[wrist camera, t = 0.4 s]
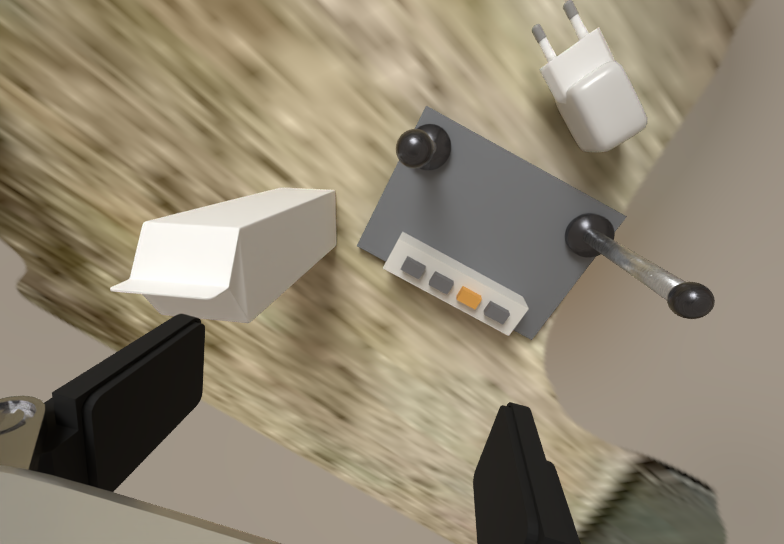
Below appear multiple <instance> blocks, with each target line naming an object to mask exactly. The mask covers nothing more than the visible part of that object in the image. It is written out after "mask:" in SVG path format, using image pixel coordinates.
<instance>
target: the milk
mask: <svg viewBox="0 0 784 544" xmlns="http://www.w3.org/2000/svg"><path fill="white" fill-rule="evenodd" d="M335 246H336V198H335V190H324V189H303V188H277V189H273V190H269V191H265V192H261V193H257V194H253V195H249V196H245V197H241V198H237V199H233V200H229V201H225V202H221V203H217V204H213V205H209V206H205V207H201V208H197V209H193V210H189V211H185V212H182V213H178V214H174V215H170V216H166V217H162V218H158V219H154V220H150V221H146V222H144V223H143V225H142V229H141V233H140V238H139V242H138V246H137V250H136V254H135V259H134V263H133V267H132V271H131V275H130V279H128V280H126V281H124V282H122V283H120V284H117V285H115V286H113V287H111V288H110V289H111V291H115V292H126V293H137V294H142V295H143V296H144V297H145V298H146V299H147V300H148V301H149V302H150V303H151V304H152V305H153V307H154V308H155V309H156V310H157V311H158V312H159V313H160V314H162V315H169V316H176V315H178V314H186V315H189V316H193V317H197V318H200V319H211V320H221V321H232V322H242V323H250V322H251V321H252V320H253V319H255V318H256V317H257V316H258V315H259V314H260V313H261V312H262V311H263V310H265V309H266V308H267V307H268V306H269V305H270V304H271V303H272V302H274V301H275V300H276V299H277V298H278V297H279V296H280V295H281V294H283V293H284V292H285V291H286V290H287V289H288V288H289V287H290V286H291V285H293V284H294V283H295V282H296V281H297V280H298V279H299V278H300V277H302V276H303V275H304V274H305V273H306V272H307V271H308V270H309V269H311V268H312V267H313V266H314V265H315V264H316V263H317V262H318V261H319V260H321V259H322V258H323V257H324V256H325V255H326V254H327V253H328V252H330V251H331V250H332V249H333V248H334V247H335Z"/></svg>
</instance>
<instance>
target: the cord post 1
mask: <svg viewBox="0 0 784 544" xmlns="http://www.w3.org/2000/svg"><path fill="white" fill-rule="evenodd" d="M450 152H451V141H450V137H449V135H448V134H447V132H446V131H445V130H444V129H443V128H441V127H440V126H438V125H435V124H425V125H422V126H420V127H418V128H417V129H411V130H408V131H406V132H404V133H403V134H402V135H401V136H400V138H399V139H398V141H397V144H396V154H397V157H398V159H399V161H400V162H401V163H402V164H403V165H404V166H406V167H408V168H412V169H417V168H420V169H423V170H434V169H437V168H439V167H441V166H442V165H443V164H444V163H445V162H446V161H447V159H448V158H449V155H450Z"/></svg>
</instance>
